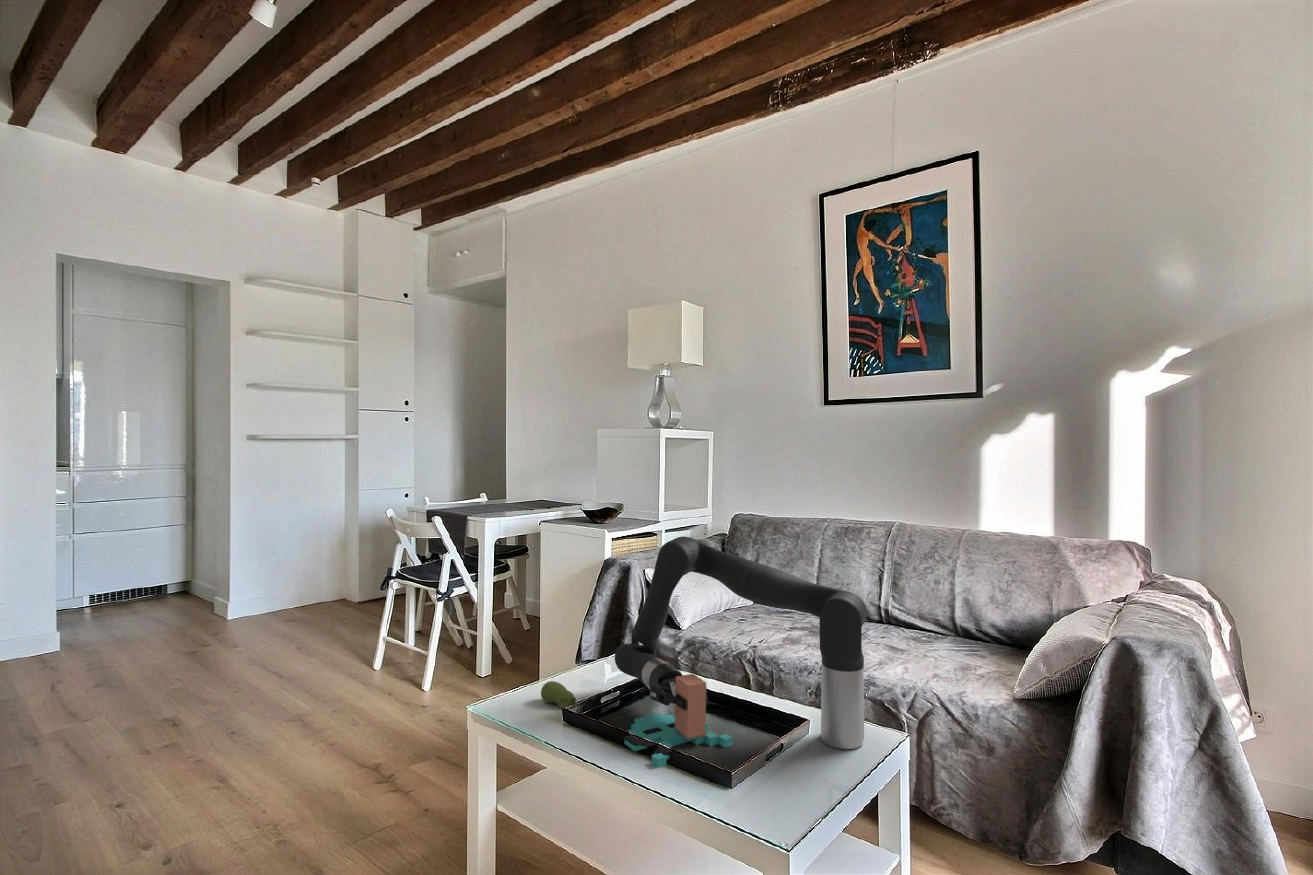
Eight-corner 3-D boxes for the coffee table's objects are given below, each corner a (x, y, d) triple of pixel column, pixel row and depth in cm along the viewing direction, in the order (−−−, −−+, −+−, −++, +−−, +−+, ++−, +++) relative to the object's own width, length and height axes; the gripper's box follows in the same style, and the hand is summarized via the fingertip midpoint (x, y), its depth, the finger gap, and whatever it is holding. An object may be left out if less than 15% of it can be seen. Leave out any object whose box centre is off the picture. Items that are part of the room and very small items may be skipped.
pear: (552, 675, 182) (581, 690, 177) (550, 694, 183) (578, 709, 177) (538, 681, 178) (567, 696, 172) (535, 701, 178) (564, 717, 173)
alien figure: (732, 747, 155) (680, 716, 172) (732, 737, 155) (680, 707, 172) (657, 770, 144) (609, 734, 161) (657, 759, 144) (609, 725, 161)
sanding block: (692, 725, 160) (693, 673, 160) (705, 736, 155) (706, 682, 155) (674, 729, 158) (675, 676, 158) (687, 739, 153) (688, 685, 153)
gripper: (635, 667, 166) (667, 691, 151) (688, 659, 172) (724, 682, 157) (635, 698, 166) (667, 726, 151) (688, 689, 172) (724, 715, 157)
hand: (696, 703), depth 154 cm, fingers closed on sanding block, 4 cm apart
